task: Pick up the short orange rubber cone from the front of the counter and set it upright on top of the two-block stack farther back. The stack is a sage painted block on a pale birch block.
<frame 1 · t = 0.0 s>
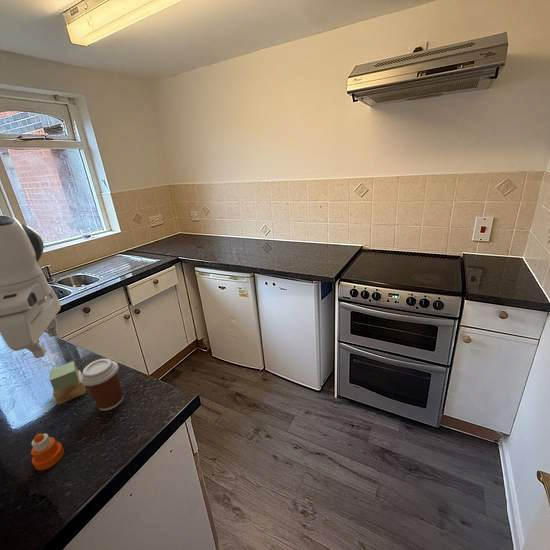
hand: (48, 344, 70), 23 cm above the countertop, tool pointing down, fingers open, 8 cm apart
top block: (67, 381, 87), point 4 cm above the countertop, touching base block
base block: (72, 392, 88), on the countertop, touching top block
coffee cup: (111, 402, 83), on the countertop
cone: (49, 458, 68), on the countertop
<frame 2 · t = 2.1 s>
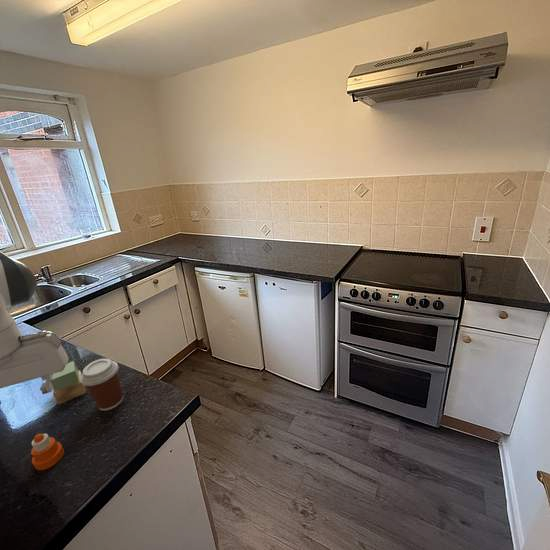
hand: (22, 399, 62), 17 cm above the countertop, tool pointing down, fingers open, 8 cm apart
nothing on the countertop moved.
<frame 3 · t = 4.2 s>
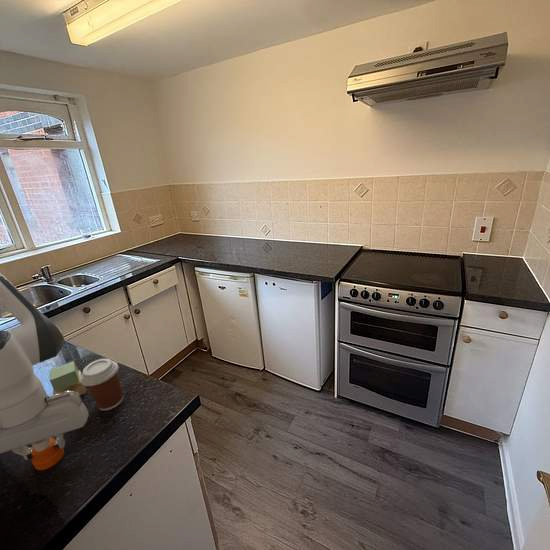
hand: (46, 451, 67), 2 cm above the countertop, tool pointing down, fingers closed on cone, 4 cm apart
cone: (49, 458, 68), on the countertop, touching gripper
everything else where it was.
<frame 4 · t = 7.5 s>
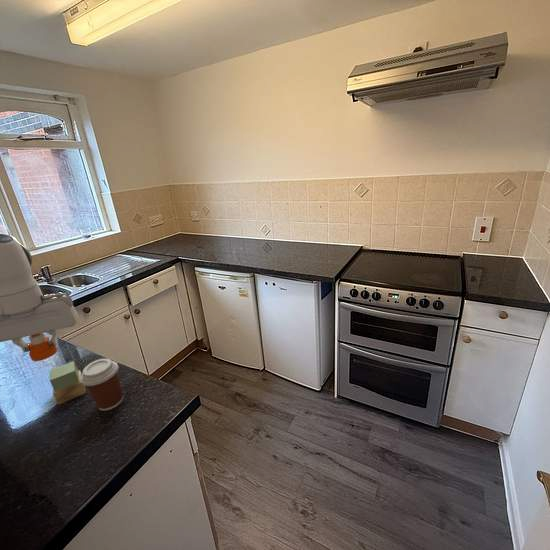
hand: (41, 347, 78), 19 cm above the countertop, tool pointing down, fingers closed on cone, 4 cm apart
cone: (44, 354, 78), point 17 cm above the countertop, touching gripper
everything else where it was.
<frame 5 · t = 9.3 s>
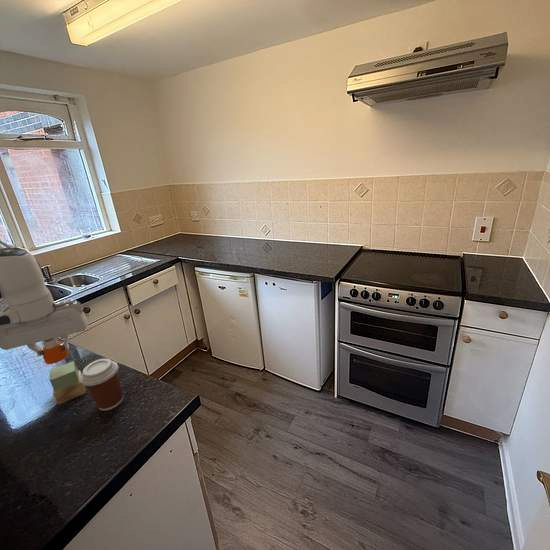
hand: (54, 351, 83), 14 cm above the countertop, tool pointing down, fingers closed on cone, 4 cm apart
cone: (57, 357, 84), point 12 cm above the countertop, touching gripper
everything else where it was.
when the fingers open (10 cm above the countertop, at t = 11.1 s): cone stays where it is, resting on top block.
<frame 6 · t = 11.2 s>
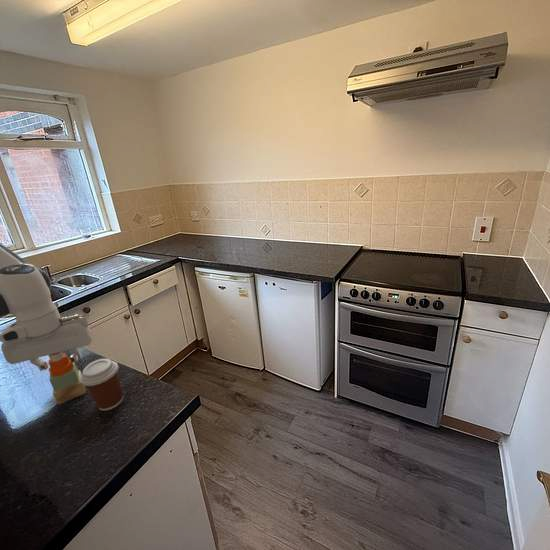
hand: (60, 364, 85), 10 cm above the countertop, tool pointing down, fingers open, 6 cm apart
top block: (67, 381, 87), point 4 cm above the countertop, touching base block, cone
cone: (62, 370, 86), point 8 cm above the countertop, touching top block
everything else where it was.
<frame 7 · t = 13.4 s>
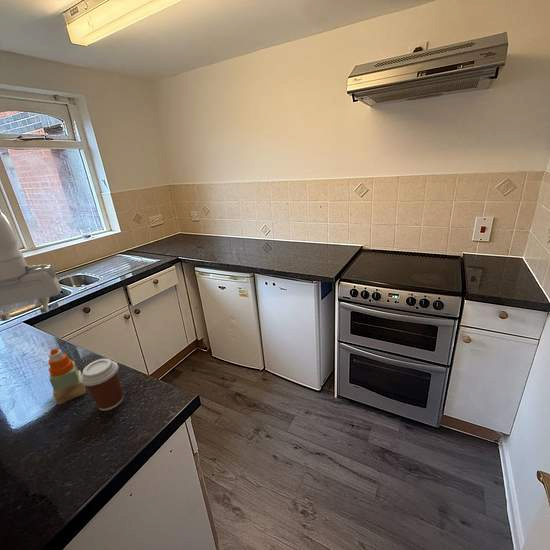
hand: (26, 315, 84), 24 cm above the countertop, tool pointing down, fingers open, 8 cm apart
nothing on the countertop moved.
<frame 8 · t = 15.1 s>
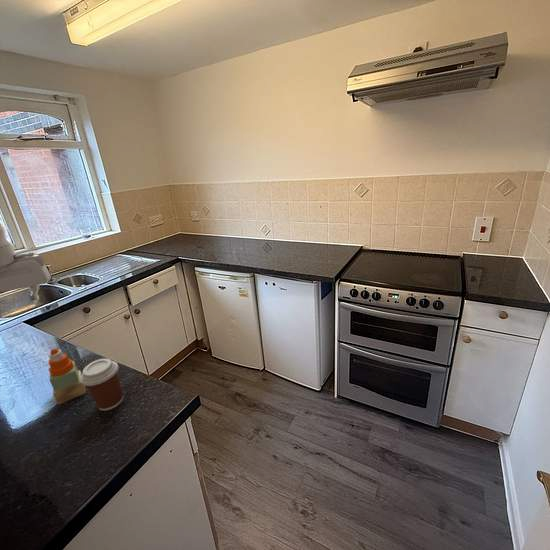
hand: (16, 304, 85), 27 cm above the countertop, tool pointing down, fingers open, 8 cm apart
nothing on the countertop moved.
at the end: cone 0.1 cm off-centre on the top block, point 4.0 cm above the top block's base; cone tilted 0°; top block 0.0 cm off-centre on the base block, point 4.0 cm above the base block's base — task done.
